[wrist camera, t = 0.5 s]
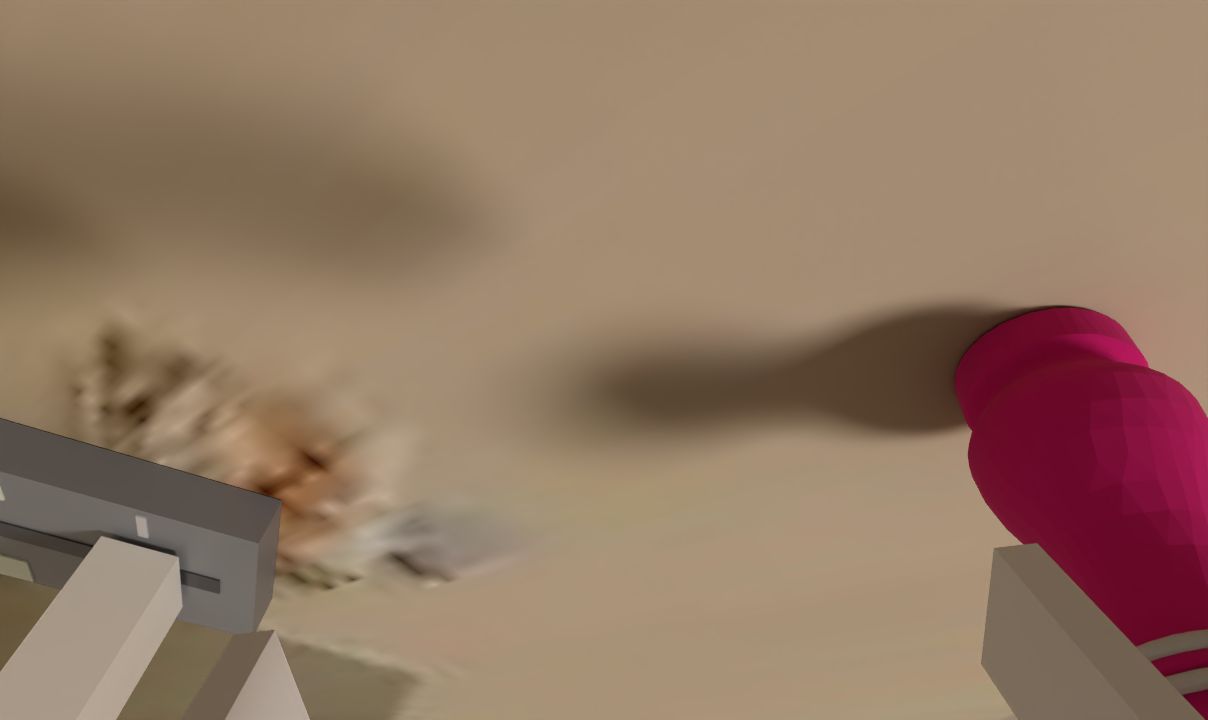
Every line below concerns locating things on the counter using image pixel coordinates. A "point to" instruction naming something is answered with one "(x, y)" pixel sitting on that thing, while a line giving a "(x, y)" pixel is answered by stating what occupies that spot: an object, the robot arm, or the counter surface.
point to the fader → (94, 637)
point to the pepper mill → (1099, 475)
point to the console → (135, 523)
